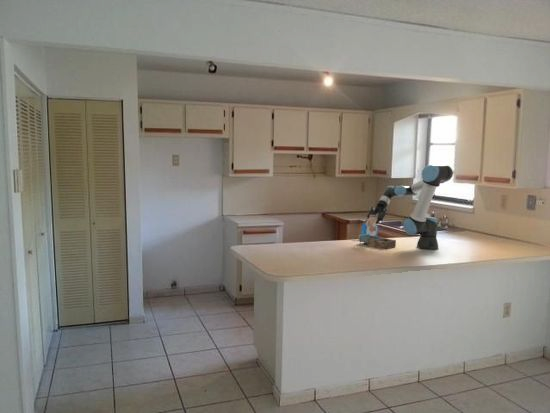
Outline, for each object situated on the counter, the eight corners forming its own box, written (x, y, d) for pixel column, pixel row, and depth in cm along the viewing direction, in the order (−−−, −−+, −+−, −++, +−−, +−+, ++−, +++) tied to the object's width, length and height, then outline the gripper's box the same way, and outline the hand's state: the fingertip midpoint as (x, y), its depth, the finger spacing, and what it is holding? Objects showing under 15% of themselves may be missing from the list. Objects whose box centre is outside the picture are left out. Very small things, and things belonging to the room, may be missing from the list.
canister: (377, 230, 347) (378, 214, 346) (373, 231, 343) (374, 215, 342) (371, 229, 351) (372, 214, 350) (367, 230, 347) (368, 214, 346)
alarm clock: (364, 239, 370) (365, 220, 369) (360, 237, 376) (361, 219, 374) (378, 238, 375) (379, 220, 374) (374, 237, 381) (374, 219, 379)
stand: (395, 246, 341) (395, 240, 341) (385, 249, 332) (385, 242, 331) (377, 243, 352) (378, 237, 352) (367, 245, 343) (367, 239, 342)
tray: (385, 242, 347) (386, 236, 346) (375, 244, 338) (376, 238, 337) (368, 239, 358) (368, 233, 357) (358, 241, 349) (358, 235, 348)
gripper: (395, 207, 349) (382, 230, 340) (375, 204, 362) (361, 227, 353) (392, 200, 345) (378, 224, 335) (371, 198, 358) (357, 221, 349)
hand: (370, 225), depth 344 cm, fingers closed on canister, 5 cm apart
